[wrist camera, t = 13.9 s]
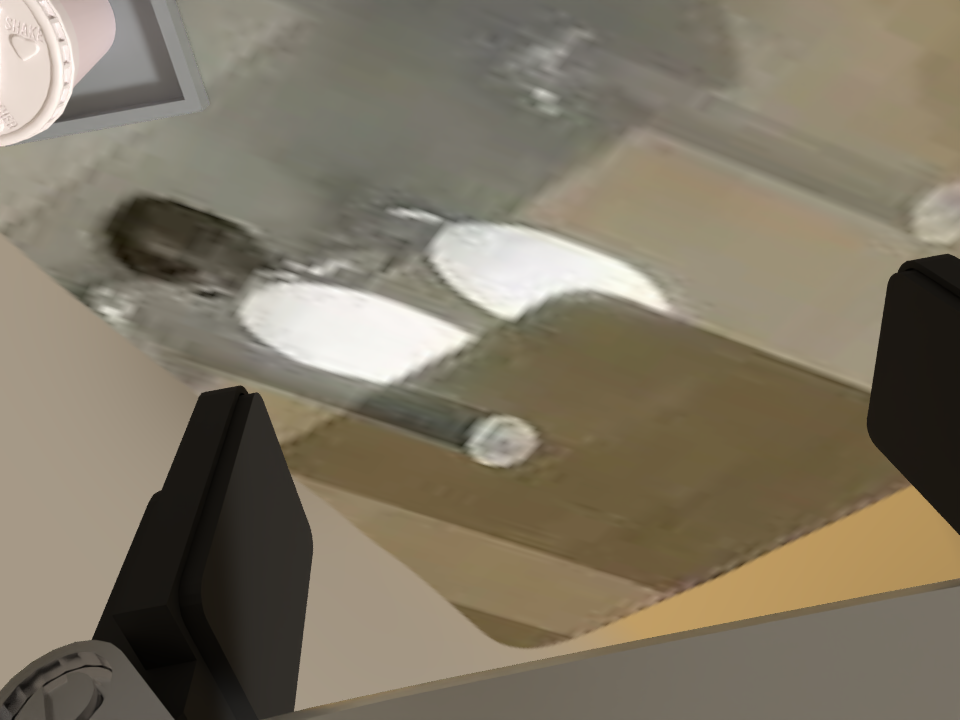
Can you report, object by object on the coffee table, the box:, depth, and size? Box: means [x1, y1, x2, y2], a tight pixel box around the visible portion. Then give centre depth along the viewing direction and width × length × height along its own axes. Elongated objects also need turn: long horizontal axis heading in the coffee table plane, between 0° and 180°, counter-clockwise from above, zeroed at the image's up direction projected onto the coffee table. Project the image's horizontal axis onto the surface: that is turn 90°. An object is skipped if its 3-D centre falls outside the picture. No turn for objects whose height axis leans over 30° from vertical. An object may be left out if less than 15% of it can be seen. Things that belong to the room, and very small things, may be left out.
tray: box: [6, 0, 210, 146], centre depth 32 cm, size 9×9×2 cm
